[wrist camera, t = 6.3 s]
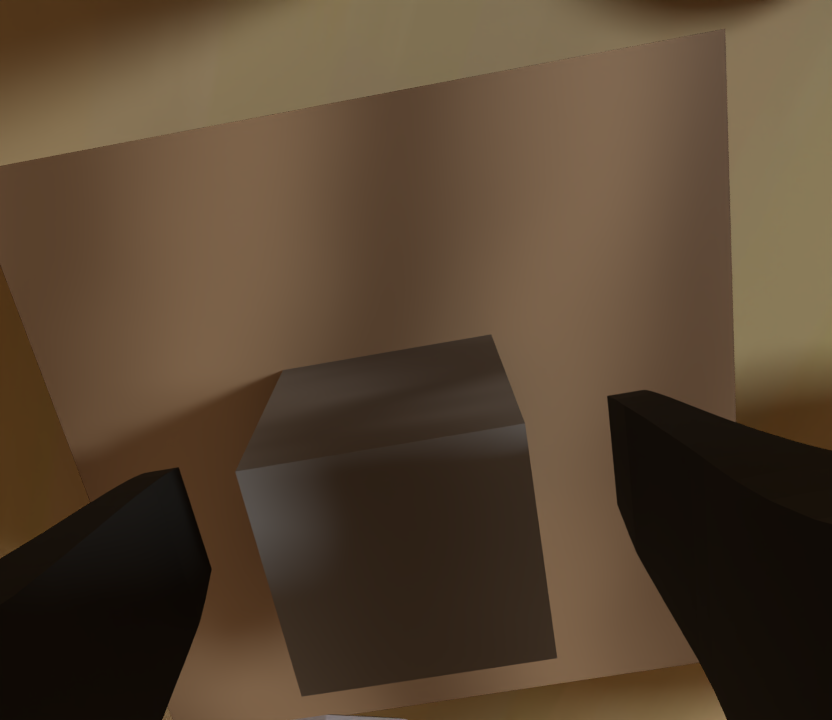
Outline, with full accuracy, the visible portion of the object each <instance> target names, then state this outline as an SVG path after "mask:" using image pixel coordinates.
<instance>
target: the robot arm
mask: <svg viewBox="0 0 832 720" xmlns="http://www.w3.org/2000/svg"><path fill="white" fill-rule="evenodd" d="M607 401H608V411H609V422H610V433H611V443H612V454H613V465H614V476H615V486H616V497H617V505H618V508H619V510H620V513H621V516H622V518H623V521H624V523H625V526H626V529H627V531H628V534H629V536H630V538H631V541H632V543H633V546H634V548H635V551H636V553H637V555H638V557H639V558H640V560H641V562H642V564H643V566H644V567H645V569H646V571H647V573H648V574H649V576H650V578H651V580H652V581H653V583H654V585H655V587H656V588H657V590H658V592H659V594H660V595H661V597H662V599H663V601H664V602H665V604H666V606H667V607H668V609H669V611H670V613H671V614H672V616H673V618H674V619H675V621H676V623H677V625H678V626H679V628H680V630H681V631H682V633H683V635H684V637H685V638H686V640H687V642H688V644H689V645H690V647H691V649H692V650H693V652H694V654H695V656H696V657H697V659H698V661H699V662H700V664H701V666H702V668H703V670H704V672H705V674H706V676H707V678H708V680H709V682H710V683H711V685H712V687H713V689H714V691H715V693H716V696H717V698H718V700H719V702H720V705H721V707H722V709H723V711H724V714H725V716H726V718H727V720H832V451H831V450H826V449H822V448H818V447H813V446H810V445H806V444H802V443H799V442H795V441H791V440H788V439H785V438H782V437H779V436H775V435H772V434H769V433H766V432H763V431H759V430H756V429H753V428H750V427H748V426H745V425H742V424H739V423H736V422H733V421H731V420H728V419H725V418H723V417H720V416H717V415H715V414H712V413H709V412H707V411H704V410H702V409H699V408H696V407H694V406H691V405H689V404H686V403H684V402H681V401H679V400H676V399H673V398H671V397H668V396H665V395H662V394H659V393H656V392H653V391H649V390H639V391H633V392H627V393H621V394H615V395H609V396H607ZM211 571H212V568H211V565H210V562H209V559H208V556H207V552H206V549H205V546H204V543H203V540H202V537H201V534H200V531H199V528H198V525H197V522H196V519H195V515H194V512H193V509H192V506H191V503H190V500H189V497H188V494H187V491H186V488H185V485H184V482H183V478H182V475H181V472H180V469H179V467H177V468H171V469H165V470H159V471H153V472H147V473H143V474H140V475H138V476H136V477H133V478H131V479H129V480H127V481H126V482H124V483H122V484H120V485H118V486H117V487H115V488H113V489H112V490H110V491H108V492H107V493H105V494H103V495H102V496H100V497H99V498H97V499H95V500H94V501H92V502H91V503H89V504H87V505H86V506H84V507H83V508H81V509H80V510H78V511H76V512H75V513H73V514H72V515H70V516H69V517H67V518H66V519H64V520H62V521H61V522H59V523H58V524H56V525H55V526H53V527H51V528H50V529H48V530H47V531H45V532H44V533H42V534H40V535H39V536H37V537H35V538H34V539H32V540H30V541H29V542H27V543H25V544H24V545H22V546H20V547H19V548H17V549H15V550H14V551H12V552H11V553H9V554H7V555H6V556H4V557H2V558H1V559H0V720H162V719H163V716H164V714H165V711H166V709H167V706H168V704H169V701H170V699H171V696H172V694H173V691H174V689H175V686H176V683H177V681H178V678H179V676H180V673H181V671H182V668H183V666H184V663H185V661H186V658H187V655H188V653H189V650H190V648H191V645H192V642H193V640H194V637H195V634H196V632H197V629H198V626H199V623H200V620H201V616H202V612H203V608H204V604H205V600H206V595H207V590H208V586H209V581H210V576H211ZM294 720H407V719H403V718H391V717H373V716H355V715H338V714H328V715H321V716H315V717H308V718H301V719H294Z"/></svg>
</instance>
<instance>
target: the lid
mask: <svg viewBox="0 0 832 720" xmlns="http://www.w3.org/2000/svg"><path fill="white" fill-rule="evenodd" d="M0 265H1V268H2V270H3V273H4V276H5V278H6V281H7V284H8V286H9V289H10V292H11V294H12V297H13V299H14V302H15V305H16V307H17V310H18V313H19V315H20V318H21V321H22V323H23V326H24V328H25V331H26V334H27V336H28V339H29V342H30V344H31V347H32V350H33V352H34V355H35V358H36V360H37V363H38V365H39V368H40V371H41V373H42V376H43V379H44V381H45V384H46V387H47V389H48V392H49V394H50V397H51V400H52V402H53V405H54V408H55V410H56V413H57V416H58V418H59V421H60V423H61V426H62V429H63V431H64V434H65V437H66V439H67V442H68V445H69V447H70V450H71V452H72V455H73V458H74V460H75V463H76V466H77V468H78V471H79V474H80V476H81V479H82V481H83V484H84V487H85V489H86V492H87V495H88V497H89V500H90V503H91V502H92V501H94V500H95V499H97V498H99V497H100V496H102V495H103V494H105V493H107V492H108V491H110V490H112V489H113V488H115V487H117V486H118V485H120V484H122V483H124V482H126V481H127V480H129V479H131V478H133V477H136V476H138V475H140V474H143V473H147V472H153V471H159V470H165V469H171V468H177V467H179V469H180V472H181V475H182V478H183V482H184V485H185V488H186V491H187V494H188V497H189V500H190V503H191V506H192V509H193V512H194V515H195V519H196V522H197V525H198V528H199V531H200V534H201V537H202V540H203V543H204V546H205V549H206V552H207V556H208V559H209V562H210V565H211V568H212V571H211V576H210V581H209V586H208V590H207V595H206V600H205V604H204V608H203V612H202V616H201V620H200V623H199V626H198V629H197V632H196V634H195V637H194V640H193V642H192V645H191V648H190V650H189V653H188V655H187V658H186V661H185V663H184V666H183V668H182V671H181V673H180V676H179V678H178V681H177V683H176V686H175V689H174V691H173V694H172V696H171V699H170V701H169V704H168V708H169V711H170V714H171V716H172V719H173V720H294V719H301V718H308V717H315V716H321V715H328V714H338V715H351V714H358V713H364V712H371V711H378V710H384V709H391V708H398V707H405V706H411V705H418V704H425V703H431V702H438V701H445V700H452V699H458V698H465V697H472V696H478V695H485V694H492V693H498V692H505V691H512V690H519V689H525V688H532V687H539V686H545V685H552V684H559V683H566V682H572V681H579V680H586V679H592V678H599V677H606V676H612V675H619V674H626V673H633V672H639V671H646V670H653V669H659V668H666V667H673V666H680V665H686V664H693V663H700V662H699V661H698V659H697V657H696V656H695V654H694V652H693V650H692V649H691V647H690V645H689V644H688V642H687V640H686V638H685V637H684V635H683V633H682V631H681V630H680V628H679V626H678V625H677V623H676V621H675V619H674V618H673V616H672V614H671V613H670V611H669V609H668V607H667V606H666V604H665V602H664V601H663V599H662V597H661V595H660V594H659V592H658V590H657V588H656V587H655V585H654V583H653V581H652V580H651V578H650V576H649V574H648V573H647V571H646V569H645V567H644V566H643V564H642V562H641V560H640V558H639V557H638V555H637V553H636V551H635V548H634V546H633V543H632V541H631V538H630V536H629V534H628V531H627V529H626V526H625V523H624V521H623V518H622V516H621V513H620V510H619V508H618V505H617V497H616V486H615V476H614V465H613V454H612V443H611V433H610V422H609V411H608V401H607V396H609V395H615V394H621V393H627V392H633V391H639V390H649V391H653V392H656V393H659V394H662V395H665V396H668V397H671V398H673V399H676V400H679V401H681V402H684V403H686V404H689V405H691V406H694V407H696V408H699V409H702V410H704V411H707V412H709V413H712V414H715V415H717V416H720V417H723V418H725V419H728V420H731V421H733V422H736V403H735V367H734V331H733V295H732V259H731V223H730V187H729V151H728V115H727V79H726V43H725V29H721V30H716V31H711V32H706V33H700V34H695V35H690V36H684V37H679V38H674V39H669V40H663V41H658V42H653V43H647V44H642V45H637V46H632V47H626V48H621V49H616V50H611V51H605V52H600V53H595V54H589V55H584V56H579V57H574V58H568V59H563V60H558V61H552V62H547V63H542V64H537V65H531V66H526V67H521V68H515V69H510V70H505V71H500V72H494V73H489V74H484V75H478V76H473V77H468V78H463V79H457V80H452V81H447V82H441V83H436V84H431V85H426V86H420V87H415V88H410V89H404V90H399V91H394V92H389V93H383V94H378V95H373V96H368V97H362V98H357V99H352V100H346V101H341V102H336V103H331V104H325V105H320V106H315V107H309V108H304V109H299V110H294V111H288V112H283V113H278V114H272V115H267V116H262V117H257V118H251V119H246V120H241V121H235V122H230V123H225V124H220V125H214V126H209V127H204V128H198V129H193V130H188V131H183V132H177V133H172V134H167V135H162V136H156V137H151V138H146V139H140V140H135V141H130V142H125V143H119V144H114V145H109V146H103V147H98V148H93V149H88V150H82V151H77V152H72V153H66V154H61V155H56V156H51V157H45V158H40V159H35V160H29V161H24V162H19V163H14V164H8V165H3V166H0Z"/></svg>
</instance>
